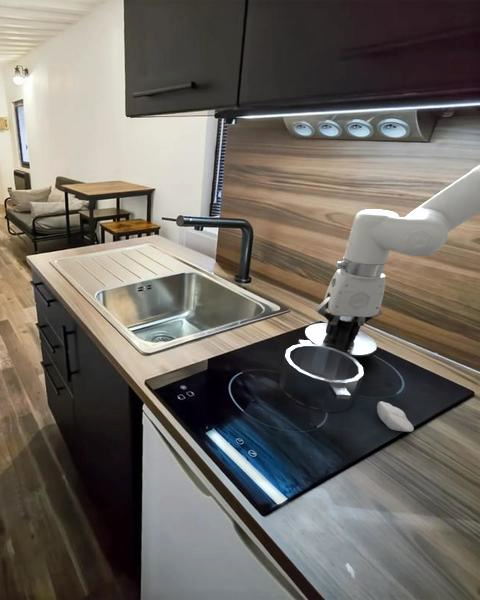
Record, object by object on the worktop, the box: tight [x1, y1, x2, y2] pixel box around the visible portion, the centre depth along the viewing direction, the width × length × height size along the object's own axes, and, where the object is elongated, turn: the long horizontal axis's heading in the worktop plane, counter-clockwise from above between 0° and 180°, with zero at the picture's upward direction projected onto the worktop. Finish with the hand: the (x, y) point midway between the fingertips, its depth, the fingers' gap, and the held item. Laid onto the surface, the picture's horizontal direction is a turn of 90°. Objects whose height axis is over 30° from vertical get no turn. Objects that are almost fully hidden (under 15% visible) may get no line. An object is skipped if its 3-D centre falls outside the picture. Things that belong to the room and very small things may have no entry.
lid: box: [304, 316, 378, 358], centre depth 88 cm, size 15×15×7 cm
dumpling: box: [376, 400, 415, 433], centre depth 68 cm, size 7×5×4 cm
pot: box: [278, 339, 365, 414], centre depth 77 cm, size 14×19×8 cm
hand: (340, 336), depth 89 cm, fingers closed on lid, 3 cm apart
